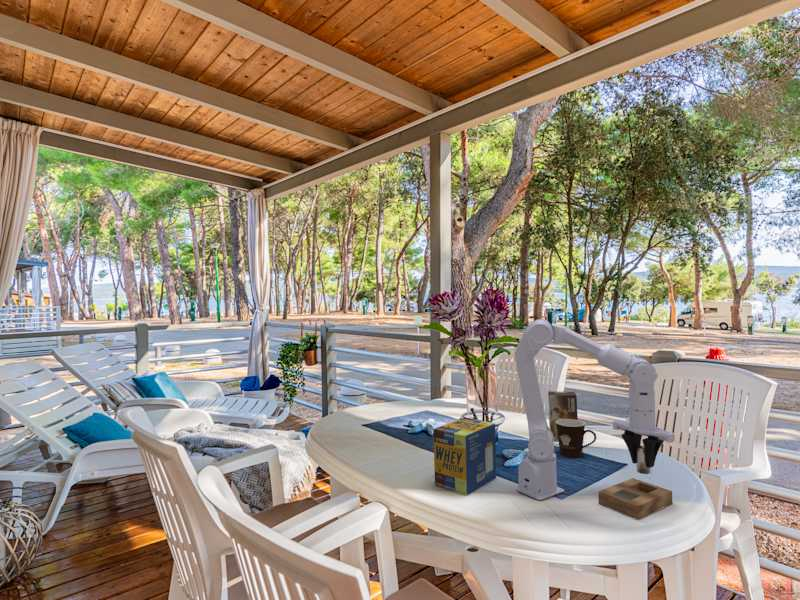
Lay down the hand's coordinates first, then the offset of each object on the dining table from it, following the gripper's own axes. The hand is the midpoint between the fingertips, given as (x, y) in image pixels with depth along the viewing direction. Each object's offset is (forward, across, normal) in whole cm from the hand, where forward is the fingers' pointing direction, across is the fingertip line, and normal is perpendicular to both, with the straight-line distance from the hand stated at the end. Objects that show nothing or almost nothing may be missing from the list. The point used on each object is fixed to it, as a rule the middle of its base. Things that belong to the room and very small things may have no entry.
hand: (643, 464), depth 117 cm
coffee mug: (+9, +30, -12) cm, 34 cm away
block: (+9, 0, +4) cm, 9 cm away
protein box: (+9, +34, +28) cm, 45 cm away
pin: (+2, 0, 0) cm, 2 cm away
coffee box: (+9, +43, -24) cm, 50 cm away
